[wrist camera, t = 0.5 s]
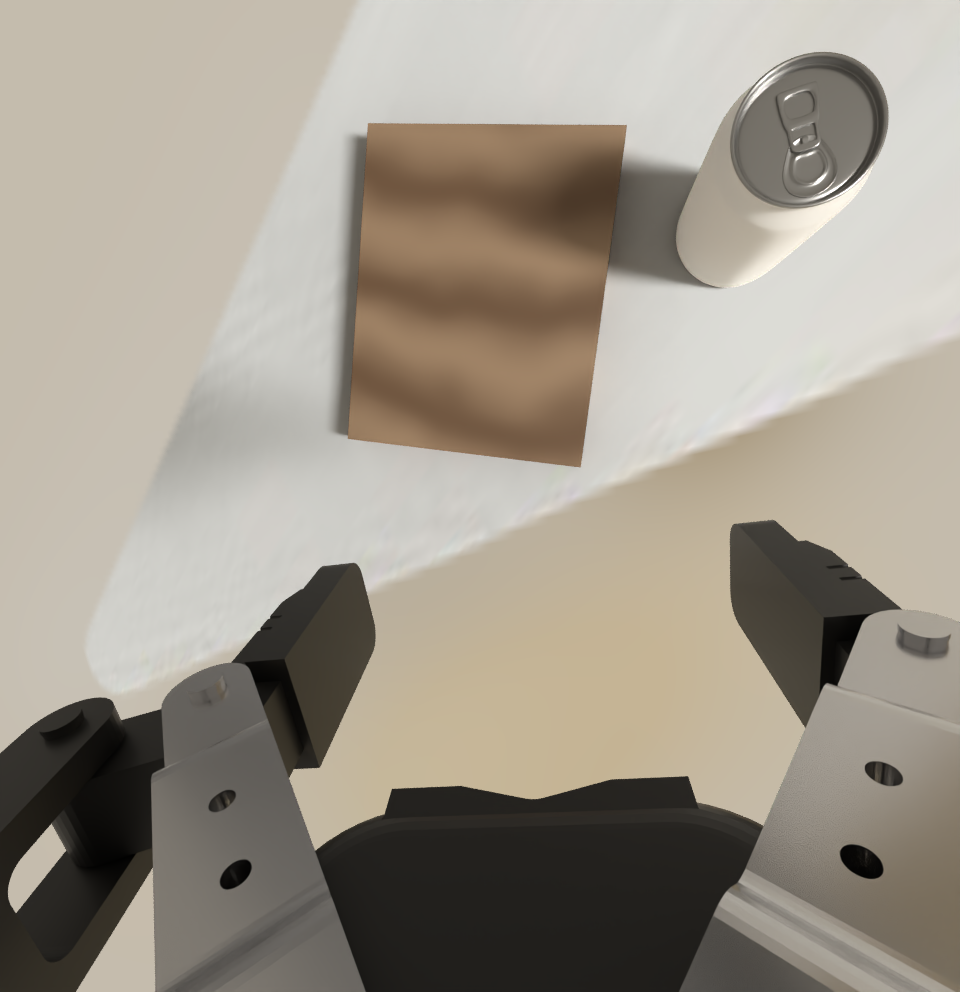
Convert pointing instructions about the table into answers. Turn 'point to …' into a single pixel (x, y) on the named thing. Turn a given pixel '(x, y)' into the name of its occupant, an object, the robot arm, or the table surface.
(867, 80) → the can
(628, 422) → the table surface
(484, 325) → the serving board
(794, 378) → the table surface
